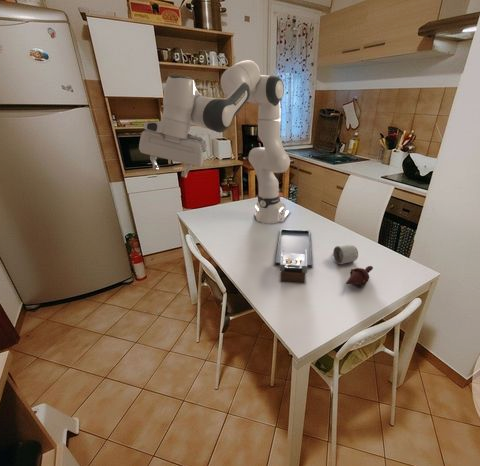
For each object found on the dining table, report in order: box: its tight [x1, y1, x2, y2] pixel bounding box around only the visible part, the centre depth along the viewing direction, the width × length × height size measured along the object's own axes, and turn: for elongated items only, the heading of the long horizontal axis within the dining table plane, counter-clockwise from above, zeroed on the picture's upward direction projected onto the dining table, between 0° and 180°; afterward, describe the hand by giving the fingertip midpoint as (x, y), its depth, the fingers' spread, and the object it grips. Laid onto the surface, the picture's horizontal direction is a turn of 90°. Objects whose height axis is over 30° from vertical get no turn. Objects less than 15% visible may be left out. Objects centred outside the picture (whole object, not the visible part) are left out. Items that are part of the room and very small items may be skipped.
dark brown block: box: [280, 271, 306, 284], centre depth 103 cm, size 9×9×5 cm
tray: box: [274, 228, 313, 269], centre depth 123 cm, size 31×15×2 cm, turn 174°
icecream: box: [346, 265, 374, 287], centre depth 98 cm, size 7×7×15 cm
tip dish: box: [279, 248, 308, 274], centre depth 101 cm, size 15×10×3 cm, turn 174°
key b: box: [295, 258, 302, 265], centre depth 102 cm, size 6×2×1 cm, turn 174°
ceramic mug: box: [332, 244, 359, 265], centre depth 113 cm, size 11×8×8 cm
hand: (169, 173), depth 88 cm, fingers open, 8 cm apart
